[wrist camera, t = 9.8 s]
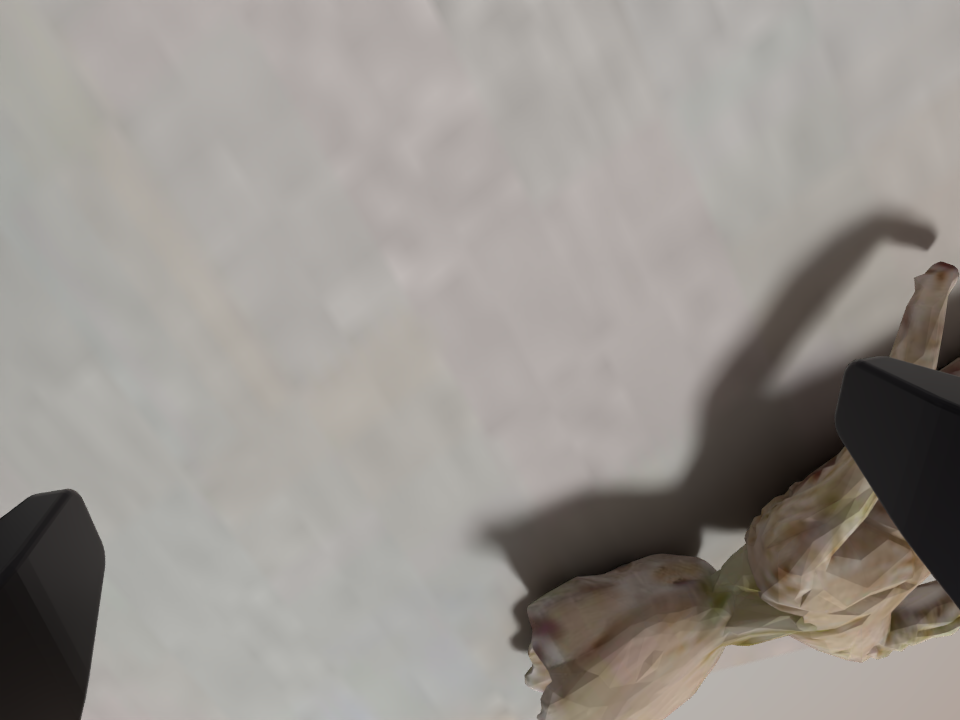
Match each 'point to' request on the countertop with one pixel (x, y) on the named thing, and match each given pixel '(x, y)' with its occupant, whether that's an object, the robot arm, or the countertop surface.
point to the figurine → (750, 584)
